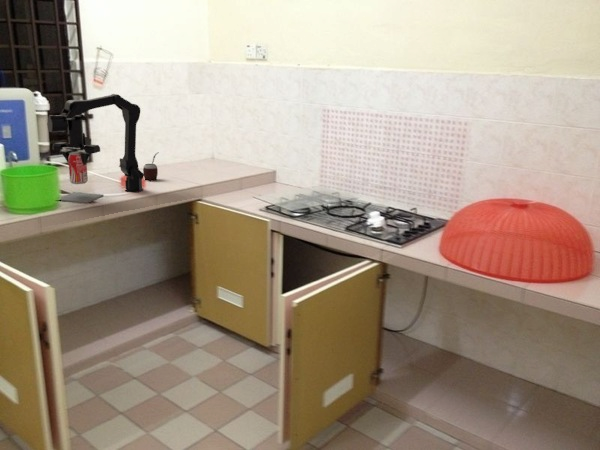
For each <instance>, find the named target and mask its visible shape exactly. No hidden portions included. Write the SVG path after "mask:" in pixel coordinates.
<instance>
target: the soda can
mask: <svg viewBox="0 0 600 450" xmlns="http://www.w3.org/2000/svg"><path fill="white" fill-rule="evenodd" d="M81 153H83V151H73V152H70V153H69V156H68V162H69V164H68V172H69V175H68V176H69V182H70V183H71V184H73V185H83V184H86V183H87V182H88V179H89V178H88V168H87V167H88V165H87V164H88V163H87V164H85V165H83V162H82V160H81ZM68 162H67V163H68Z"/></svg>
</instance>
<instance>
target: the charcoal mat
mask: <svg viewBox="0 0 600 450" xmlns="http://www.w3.org/2000/svg"><path fill="white" fill-rule="evenodd" d="M60 197H61V199H60V200H61V201H60V202H69V203H78V204H89V203H91V202H93V201H95V200H97V199H100V198H102V197H104V194H103V193H102V194H100V193H90V192H89V193H88V192H80V191H78V192H77V191H72V192H71V193H70V192H69V193H68V194H66V195H63V196H60Z"/></svg>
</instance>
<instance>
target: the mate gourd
mask: <svg viewBox="0 0 600 450" xmlns="http://www.w3.org/2000/svg"><path fill="white" fill-rule="evenodd" d="M158 154H160V153H159V152H156V153H155V154H154V155H153V157H152V161H151V163H145V164H144V165H143V169H142V173H143V174H144V176H143V179H145V180H144V181H149V182H152V181H157V180H158V179H157V178H158V171H159V170H158V166H157V165H156V164H155V163H154V162H155V159H156V156H157V155H158Z"/></svg>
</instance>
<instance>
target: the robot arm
mask: <svg viewBox="0 0 600 450" xmlns="http://www.w3.org/2000/svg"><path fill="white" fill-rule="evenodd" d="M112 105H113V106H115V107H117V108H118V109H119V110H120V111H121V113H122V115H121V116H122V118H123V121H124V126H125V127H124V154H123V155H124V156H123V157H122V158H120V157H119V166H118V168H120V171H121V172H122V173H123V174H124V177H125V179H126V180H125V181H124V182H125V183H124V184H125V189H124V191H125V192H131V193H140V192H141V191H143V190H144V189H145V188H143V182H142V181H143V179H144V174H143V171H141V170H140V169H139V163H138V159H137V157H136V149H137V148H136V144H137V141H136V139H137V124H138V121H139V119H140V115H141V107H140V106H139V105H138V104H136V103H131V101H129V100H127V99H125V98H124V97H122V96H121V95H119V94H115V93H112V94H109V95H104V96H100V97H95V98H90V99H70V100H67V101H66V102H65V103H64V108H63V109H62V110H61V113H60V114H59V115H57V114H56V115H54V114H49V115H48V119H47V128H48V129H47V130H48V131H49V132H50V133H58V132H59V133H61V132H62V133H64V132H66V131H67V133H66V137H68V142H64V141H63V142H62V141H59V142H55V143H53V145H52V150H53V151H59V153H60V154H61V155H62V156H63V157H64V158H65V160H66V162H67V164H68V165H69V162H68V156H69V153H70V152H74V151H82V152H83V153H81V160H82V162H83V165H85V164H88V160H89V158H90V156H91V155H92V154H96V153H100V152H101V147H100V146H99V144H92V139H91V138H89V137H86V134H85V132H83V131H84V130H83V128H84V127H83V121H88V118H87V117H86V116H85V115H84V114H85V113H86V112H88V111H91V110H93V109H98V108H103V107H108V106H112Z"/></svg>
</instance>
